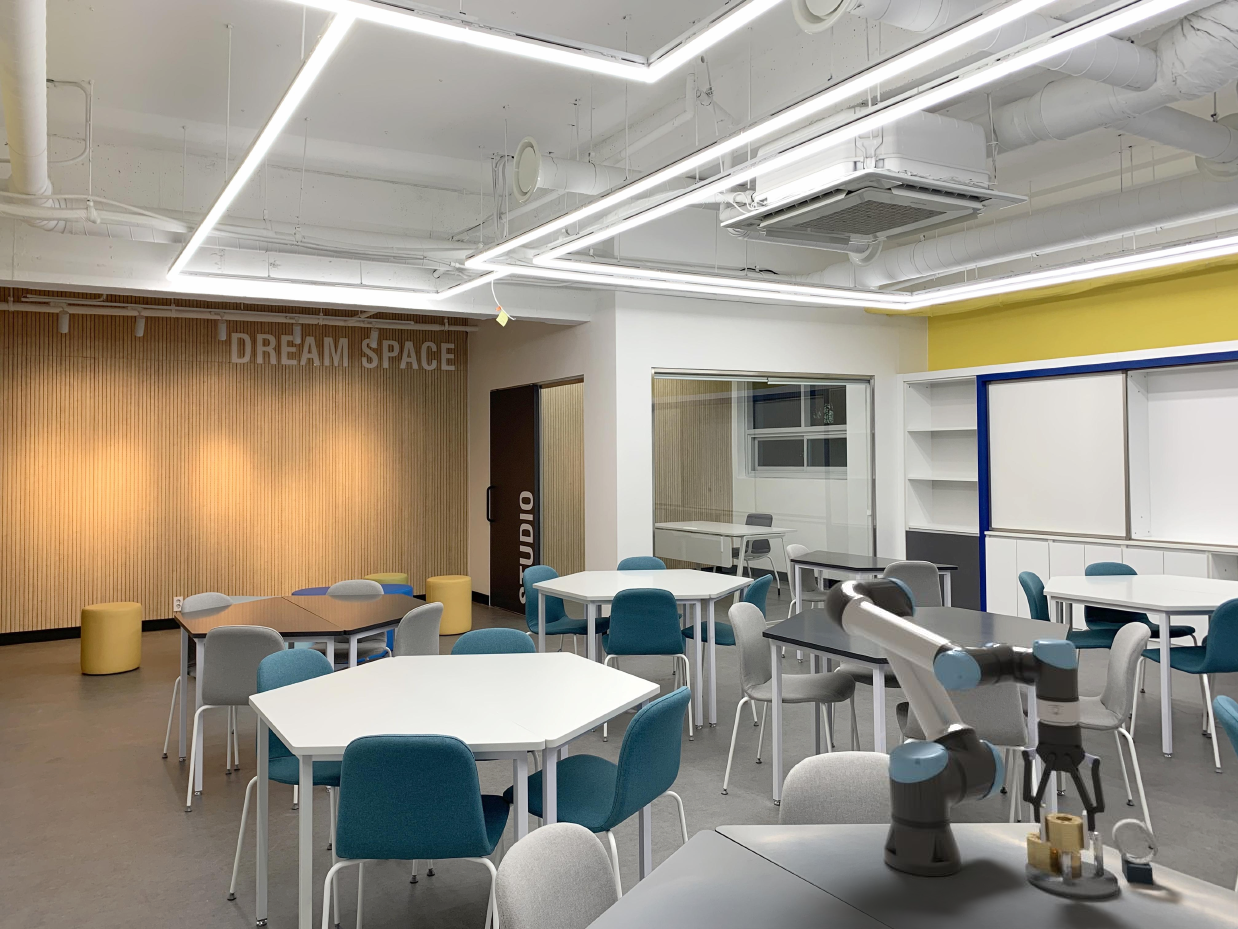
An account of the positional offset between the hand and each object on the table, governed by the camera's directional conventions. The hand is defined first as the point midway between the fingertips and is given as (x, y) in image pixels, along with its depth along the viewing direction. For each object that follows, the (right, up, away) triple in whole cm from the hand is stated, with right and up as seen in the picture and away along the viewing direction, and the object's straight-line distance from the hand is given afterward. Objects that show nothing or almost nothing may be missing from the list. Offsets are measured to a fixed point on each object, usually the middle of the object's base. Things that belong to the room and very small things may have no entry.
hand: (1065, 844), depth 162 cm
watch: (+17, -9, +5) cm, 20 cm away
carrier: (+3, -9, +4) cm, 10 cm away
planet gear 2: (0, 0, 0) cm, 0 cm away
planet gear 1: (+1, -8, +9) cm, 12 cm away
